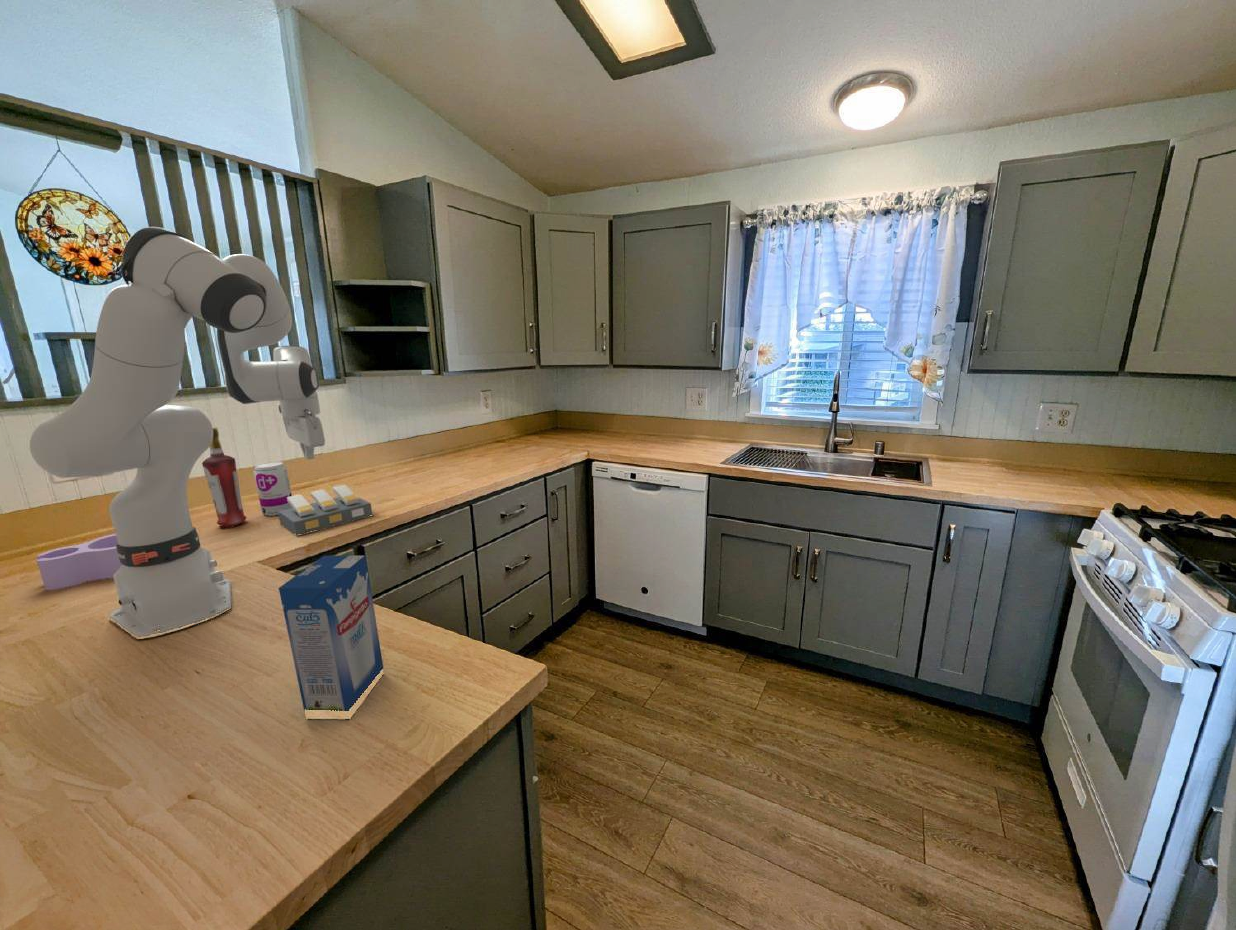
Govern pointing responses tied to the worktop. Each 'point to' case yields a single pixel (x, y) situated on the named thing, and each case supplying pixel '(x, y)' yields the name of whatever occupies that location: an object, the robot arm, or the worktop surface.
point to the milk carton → (332, 631)
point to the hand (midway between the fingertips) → (309, 458)
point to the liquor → (223, 484)
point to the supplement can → (272, 487)
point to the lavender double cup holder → (79, 563)
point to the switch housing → (324, 516)
